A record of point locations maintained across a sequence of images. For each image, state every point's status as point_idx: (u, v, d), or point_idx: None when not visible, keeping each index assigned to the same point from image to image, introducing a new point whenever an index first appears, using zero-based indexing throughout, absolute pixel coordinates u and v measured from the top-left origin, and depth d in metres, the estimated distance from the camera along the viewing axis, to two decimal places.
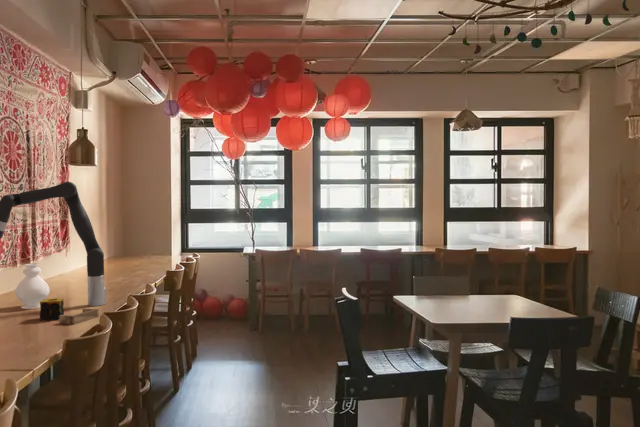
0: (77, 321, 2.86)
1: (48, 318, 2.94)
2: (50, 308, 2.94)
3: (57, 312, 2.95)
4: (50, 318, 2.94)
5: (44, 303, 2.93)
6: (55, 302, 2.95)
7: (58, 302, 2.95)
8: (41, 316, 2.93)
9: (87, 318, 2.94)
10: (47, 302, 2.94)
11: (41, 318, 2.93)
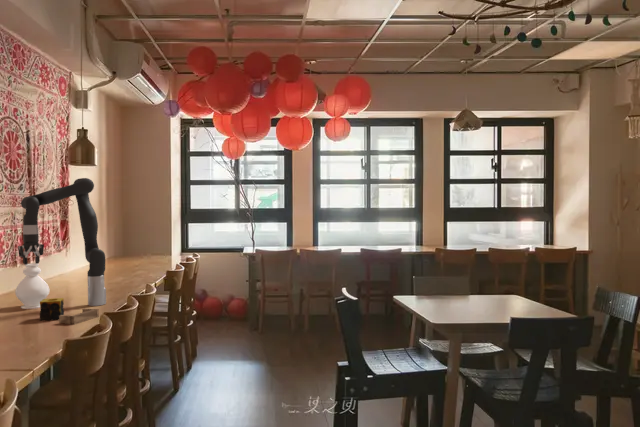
0: (77, 321, 2.86)
1: (48, 318, 2.94)
2: (50, 308, 2.94)
3: (57, 312, 2.95)
4: (50, 318, 2.94)
5: (44, 303, 2.93)
6: (55, 302, 2.95)
7: (58, 302, 2.95)
8: (41, 316, 2.93)
9: (87, 318, 2.94)
10: (47, 302, 2.94)
11: (41, 318, 2.93)
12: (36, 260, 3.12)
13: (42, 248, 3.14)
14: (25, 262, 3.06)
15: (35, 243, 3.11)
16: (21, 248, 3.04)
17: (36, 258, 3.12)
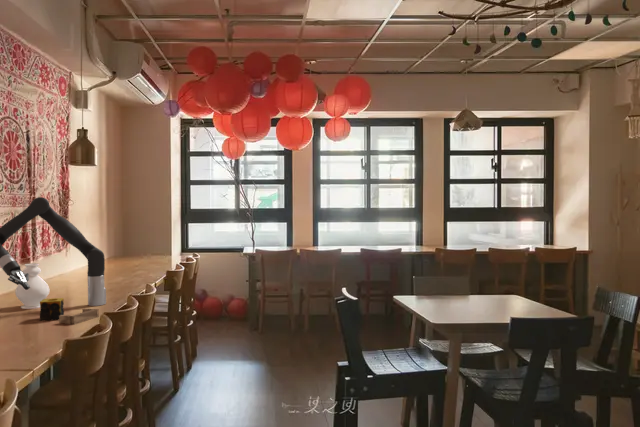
0: (77, 321, 2.86)
1: (48, 318, 2.94)
2: (50, 308, 2.94)
3: (57, 312, 2.95)
4: (50, 318, 2.94)
5: (44, 303, 2.93)
6: (55, 302, 2.95)
7: (58, 302, 2.95)
8: (41, 316, 2.93)
9: (87, 318, 2.94)
10: (47, 302, 2.94)
11: (41, 318, 2.93)
12: None
13: (27, 275, 3.07)
14: (26, 286, 3.01)
15: (19, 270, 3.06)
16: (12, 277, 2.98)
17: None
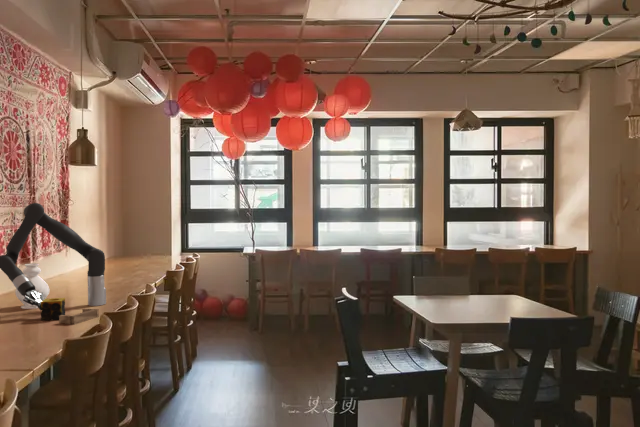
0: (77, 321, 2.86)
1: (49, 318, 2.94)
2: (51, 308, 2.94)
3: (58, 312, 2.95)
4: (51, 318, 2.94)
5: (45, 303, 2.93)
6: (56, 302, 2.95)
7: (59, 302, 2.95)
8: (42, 316, 2.93)
9: (87, 318, 2.94)
10: (48, 302, 2.94)
11: (42, 318, 2.93)
12: None
13: (42, 295, 3.05)
14: None
15: (33, 290, 3.04)
16: (27, 297, 2.96)
17: None
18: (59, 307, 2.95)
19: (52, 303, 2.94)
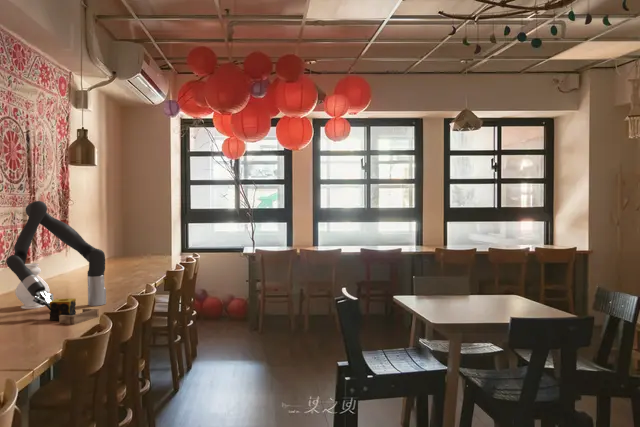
0: (77, 321, 2.86)
1: (57, 318, 2.92)
2: (59, 309, 2.92)
3: (67, 313, 2.93)
4: None
5: (54, 303, 2.92)
6: (64, 302, 2.93)
7: (67, 303, 2.93)
8: (51, 316, 2.92)
9: (87, 318, 2.94)
10: (57, 302, 2.92)
11: (50, 318, 2.92)
12: None
13: (52, 296, 3.04)
14: None
15: (43, 291, 3.02)
16: (37, 298, 2.94)
17: None
18: (67, 308, 2.93)
19: (60, 303, 2.93)
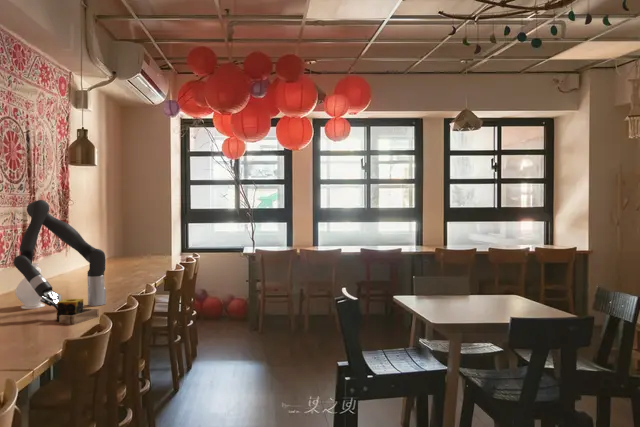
0: (77, 321, 2.86)
1: None
2: (66, 309, 2.91)
3: (73, 313, 2.91)
4: None
5: (61, 303, 2.91)
6: (71, 303, 2.91)
7: (74, 303, 2.91)
8: (58, 316, 2.91)
9: (87, 318, 2.94)
10: (63, 303, 2.91)
11: (57, 319, 2.91)
12: None
13: (59, 296, 3.02)
14: None
15: (51, 291, 3.01)
16: (45, 298, 2.93)
17: None
18: (74, 308, 2.92)
19: (67, 304, 2.91)
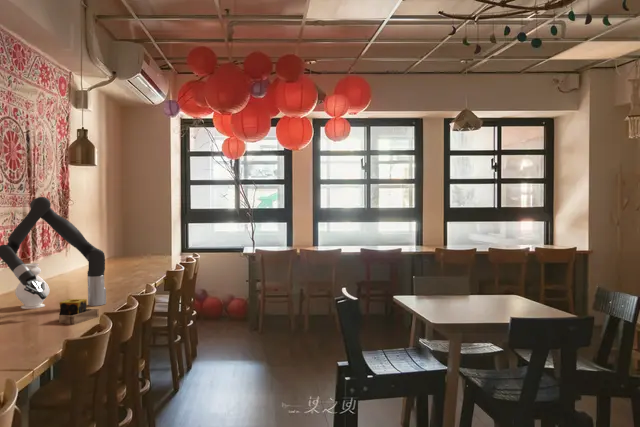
0: (77, 321, 2.86)
1: None
2: (69, 309, 2.91)
3: (76, 313, 2.91)
4: None
5: (63, 304, 2.91)
6: (73, 303, 2.91)
7: (76, 303, 2.91)
8: None
9: (87, 318, 2.94)
10: (66, 303, 2.91)
11: None
12: None
13: (43, 285, 3.05)
14: (42, 295, 2.99)
15: (34, 280, 3.03)
16: (28, 287, 2.96)
17: None
18: (76, 309, 2.91)
19: (70, 304, 2.91)
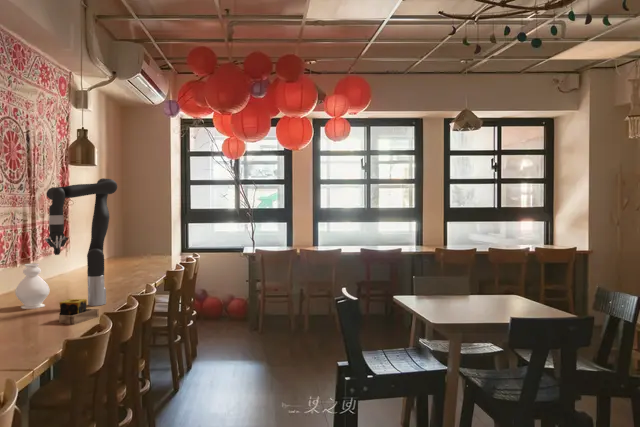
0: (77, 321, 2.86)
1: None
2: (69, 309, 2.91)
3: (76, 313, 2.91)
4: None
5: (63, 304, 2.91)
6: (73, 303, 2.91)
7: (76, 303, 2.91)
8: None
9: (87, 318, 2.94)
10: (66, 303, 2.91)
11: None
12: None
13: (65, 241, 3.17)
14: (56, 252, 3.13)
15: (60, 233, 3.15)
16: (49, 240, 3.09)
17: None
18: (76, 309, 2.91)
19: (70, 304, 2.91)
